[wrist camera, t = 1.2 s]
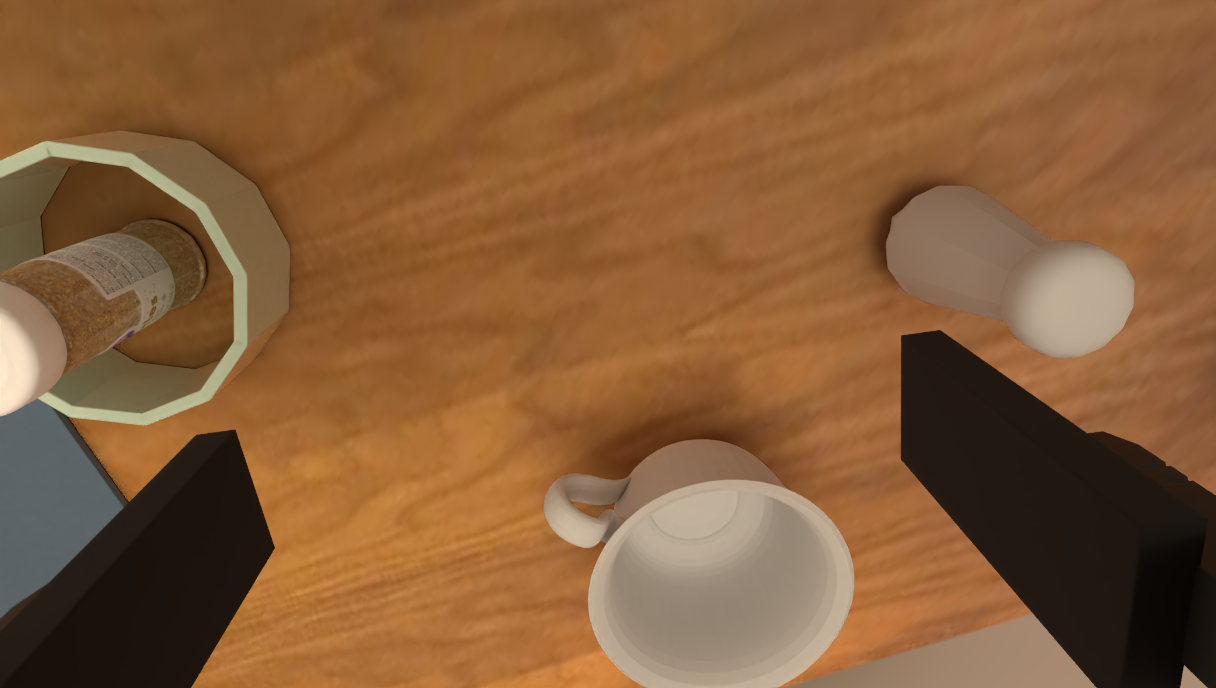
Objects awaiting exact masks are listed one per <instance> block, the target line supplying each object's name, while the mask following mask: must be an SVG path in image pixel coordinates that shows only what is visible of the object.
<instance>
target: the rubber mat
mask: <svg viewBox="0 0 1216 688" xmlns="http://www.w3.org/2000/svg"><path fill="white" fill-rule="evenodd" d="M127 504H128V502H127V501H126V499H125V498H124V497H123V495H122V494H121V492H120V491H119V490H118V488H117V487H116V485H115V484H114V483H113V481H112V480H111V478H110V477H109V476H108V474H107V473H106V471H105V470H104V469H103V467H102V466H101V464H100V463H99V462H98V460H97V459H96V457H95V456H94V455H93V453H92V452H91V450H90V449H89V448H88V446H87V445H86V443H85V442H84V441H83V439H82V438H81V436H80V435H79V434H78V432H77V431H76V429H75V428H74V427H73V425H72V424H71V422H70V421H69V420H68V418H67V417H66V415H65V414H63V413H62V412H60V411H58V410H56V409H55V408H53V407H51V406H49V405H48V404H46V403H44V402H42V401H41V400H39V399H35V400H34V401H32V402H30V403H29V404H27V405H25V406H23V407H21V408H20V409H18V410H16V411H14V412H12V413H10V414H7V415H4V416H0V618H1V617H2V616H3V615H4V614H5V613H6V612H8V611H9V610H10V609H11V608H12V607H13V606H14V605H16V604H17V603H19V602H20V601H22V600H23V599H25V598H26V597H28V596H29V595H31V594H32V593H34V592H35V591H37V590H38V589H40V588H41V587H43V586H44V585H46V584H48V583H49V582H50V581H51V580H52V579H53V578H54V577H55V576H56V575H57V574H58V573H59V572H60V571H61V570H62V569H63V568H64V567H65V566H66V565H67V564H68V563H69V562H70V561H71V560H72V559H73V558H74V557H75V556H76V555H77V554H78V553H79V552H80V551H81V550H82V549H83V548H84V547H85V546H86V545H87V544H88V543H89V542H90V541H91V540H92V539H93V538H94V537H95V536H96V535H97V534H98V533H99V532H100V531H101V530H102V529H103V528H104V527H105V526H106V525H107V524H108V523H109V522H110V521H111V520H112V519H113V518H114V517H115V516H116V515H117V514H118V513H119V512H120V511H121V510H122V509H123V508H124V507H125V506H126V505H127Z"/></svg>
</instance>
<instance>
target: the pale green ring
mask: <svg viewBox="0 0 1216 688" xmlns="http://www.w3.org/2000/svg"><path fill="white" fill-rule="evenodd" d="M83 161H88V162H95V163H102V164H109V165H116V166H123V167H129V168H130V169H132V170H133V171H135V172H136V173H138V174H139V175H141V176H142V177H144V178H145V179H147V180H148V181H150V182H151V183H153V184H154V185H155V186H157V187H158V188H160V189H161V190H163V191H164V192H166V193H167V194H169V195H170V196H172V197H173V198H175V199H176V200H178V201H179V202H181V203H182V204H184V205H185V206H187V207H188V208H190V209H191V210H192V211H194V212H195V213H196V214H197V216H198V217H199V219H200V221H201V223H202V224H203V226H204V228H205V229H206V231H207V233H208V235H209V236H210V238H211V240H212V241H213V243H214V245H215V247H216V248H217V250H218V252H219V253H220V255H221V257H222V259H223V260H224V262H225V264H226V265H227V267H228V269H229V270H230V272H231V274H232V276H233V296H234V342H233V343H232V345H231V346H230V347H229V349H228V350H227V352H226V353H225V355H224V356H223V358H222V359H220V360H218V361H215V362H213V363H210V364H208V365H205V366H203V367H200V368H198V369H191V368H182V367H173V366H165V365H156V364H148V363H139V362H135V361H134V360H132V359H130V358H129V357H127V356H126V355H124V354H122V353H121V352H119V351H117V350H116V349H114V348H110V349H108V350H107V351H105V352H104V353H102V354H100V355H98V356H95V357H93V358H91V359H89V360H88V361H86V362H85V363H83V364H81V365H80V366H78V367H76V368H75V369H73V370H71V371H69V372H68V373H66V374H64V375H63V376H62V377H60V379H59V380H58V382H57V383H56V384H55V385H54V386H53V388H51V389H50V390H49V391H47V392H46V393H45V394H43V395H42V396H40V397H39V398H37V399H39V400H41V401H42V402H44V403H46V404H48V405H49V406H51V407H53V408H55V409H56V410H58V411H60V412H62V413H63V414H65V415H67V416H68V417H72V418H81V419H91V420H100V421H109V422H118V423H127V424H136V425H149V424H152V423H154V422H157V421H159V420H162V419H164V418H167V417H169V416H172V415H174V414H177V413H180V412H182V411H185V410H187V409H190V408H192V407H195V406H197V405H200V404H202V403H205V402H207V401H210V400H211V399H212V398H213V397H214V396H215V395H216V394H217V393H218V392H220V391H221V390H222V389H223V388H224V387H225V386H226V385H227V384H228V383H229V382H230V381H231V380H232V379H233V378H234V377H236V376H237V375H238V374H239V373H240V372H241V371H242V370H243V369H244V368H245V367H246V366H247V365H248V364H249V363H250V362H251V361H253V360H254V359H255V358H256V357H257V355H258V354H259V352H260V351H261V350H262V348H263V347H264V345H265V344H266V342H267V341H268V340H269V338H270V337H271V335H272V334H273V332H274V331H275V330H276V328H277V327H278V325H279V324H280V322H281V321H282V320H283V318H284V317H285V315H286V314H287V312H288V311H289V287H290V246H289V244H288V242H287V240H286V239H285V237H284V235H283V233H282V231H281V229H280V228H279V226H278V224H277V222H276V220H275V219H274V217H273V215H272V213H271V211H270V209H269V208H268V206H267V204H266V202H265V200H264V198H263V197H262V195H261V193H260V191H259V189H258V188H257V186H256V184H254V183H253V182H251V181H250V180H249V179H247V178H246V177H244V176H243V175H241V174H240V173H239V172H237V171H236V170H234V169H233V168H231V167H230V166H229V165H227V164H226V163H224V162H223V161H221V160H220V159H219V158H217V157H216V156H214V155H213V154H212V153H210V152H209V151H207V150H206V149H204V148H203V147H202V146H200V145H199V144H197V143H196V142H194V141H190V140H183V139H177V138H170V137H163V136H156V135H149V134H142V133H136V132H129V131H122V130H120V131H113V132H106V133H99V134H91V135H84V136H77V137H70V138H63V139H56V140H49V141H44V142H41V143H39V144H37V145H35V146H32V147H30V148H28V149H25V150H23V151H21V152H18V153H16V154H14V155H11V156H9V157H7V158H4V159H2V160H0V273H2V272H4V271H6V270H9V269H12V268H14V267H16V266H17V265H19V264H21V263H23V262H26V261H29V260H32V259H34V258H37V257H40V256H43V255H44V250H43V239H42V228H41V215H42V213H43V211H44V210H45V208H46V206H47V204H48V203H49V201H50V199H51V197H52V196H53V194H54V192H55V190H56V189H57V187H58V185H59V184H60V182H61V180H62V178H63V177H64V175H65V173H66V171H67V170H68V168H69V167H71V166H74V165H76V164H78V163H81V162H83Z"/></svg>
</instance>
